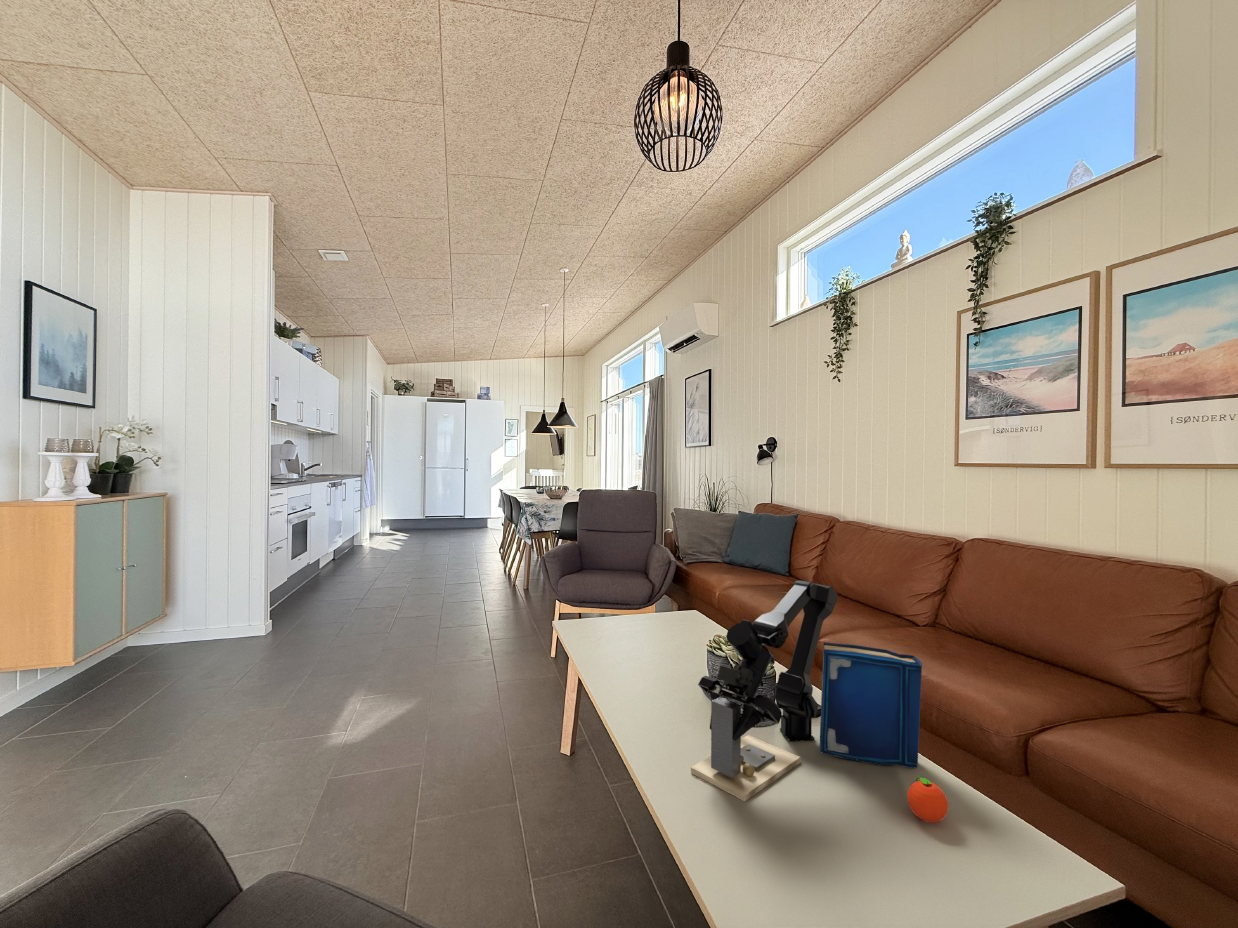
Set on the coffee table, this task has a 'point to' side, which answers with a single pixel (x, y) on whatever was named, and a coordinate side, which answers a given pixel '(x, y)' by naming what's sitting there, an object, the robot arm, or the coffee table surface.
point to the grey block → (725, 737)
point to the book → (870, 705)
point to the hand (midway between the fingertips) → (722, 734)
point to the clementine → (927, 801)
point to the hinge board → (743, 780)
